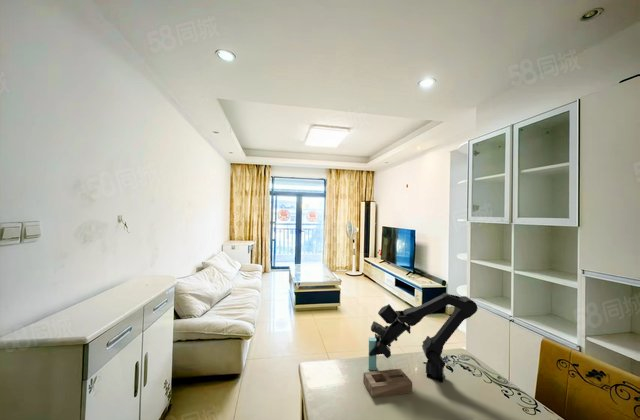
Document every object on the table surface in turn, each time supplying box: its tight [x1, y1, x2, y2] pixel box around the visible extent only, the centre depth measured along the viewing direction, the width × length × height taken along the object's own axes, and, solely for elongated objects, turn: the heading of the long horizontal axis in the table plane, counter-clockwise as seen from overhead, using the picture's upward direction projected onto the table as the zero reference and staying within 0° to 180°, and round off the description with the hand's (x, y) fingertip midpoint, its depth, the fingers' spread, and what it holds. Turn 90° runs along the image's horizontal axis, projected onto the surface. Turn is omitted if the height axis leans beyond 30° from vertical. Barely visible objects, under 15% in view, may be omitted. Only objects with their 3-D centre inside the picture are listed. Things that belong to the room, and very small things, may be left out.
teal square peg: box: [368, 336, 377, 371], centre depth 112 cm, size 3×3×13 cm
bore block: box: [363, 368, 413, 398], centre depth 99 cm, size 9×17×4 cm, turn 101°
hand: (369, 353), depth 112 cm, fingers closed on teal square peg, 3 cm apart
